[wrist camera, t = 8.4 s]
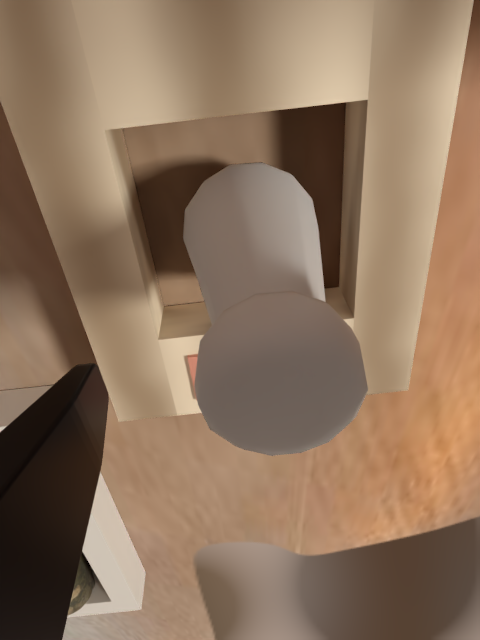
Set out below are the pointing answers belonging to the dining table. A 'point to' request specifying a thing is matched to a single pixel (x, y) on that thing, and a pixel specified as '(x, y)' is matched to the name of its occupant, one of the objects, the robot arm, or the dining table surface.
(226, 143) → the dining table surface
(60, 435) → the robot arm
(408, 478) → the dining table surface
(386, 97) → the maple frame
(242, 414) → the salt shaker
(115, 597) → the white rectangular tray
